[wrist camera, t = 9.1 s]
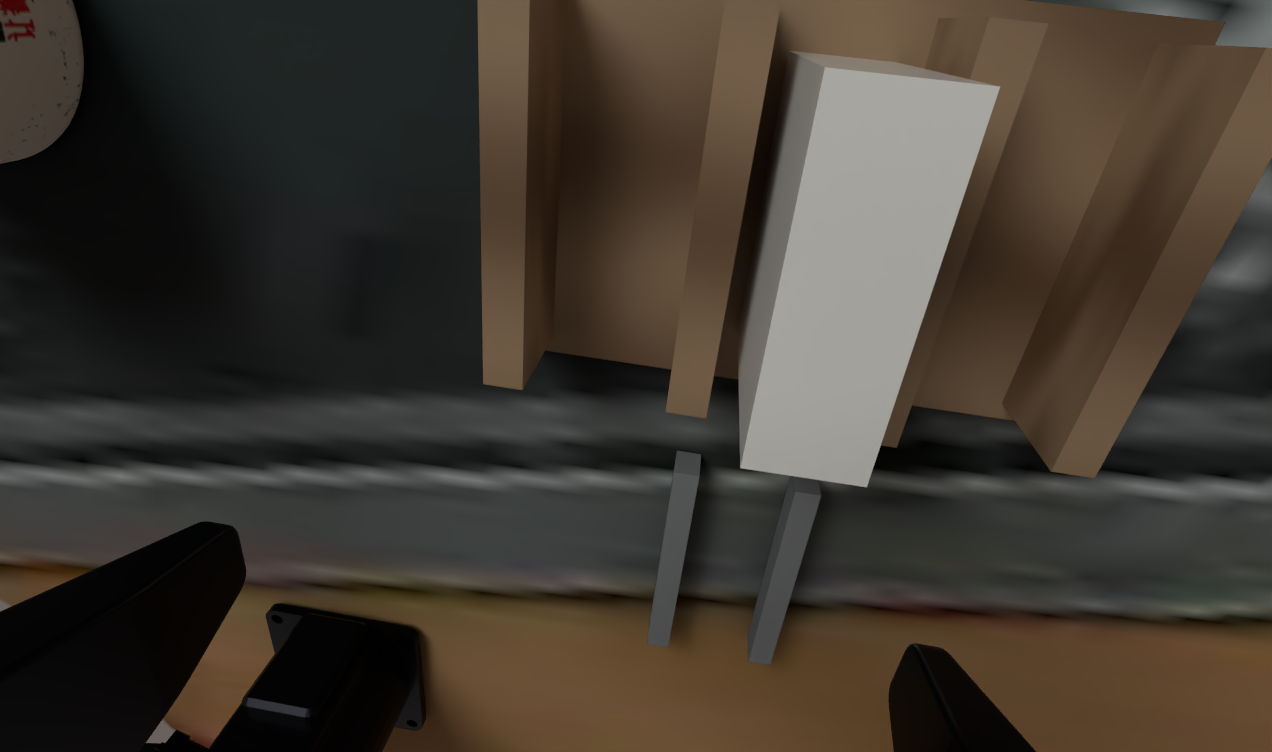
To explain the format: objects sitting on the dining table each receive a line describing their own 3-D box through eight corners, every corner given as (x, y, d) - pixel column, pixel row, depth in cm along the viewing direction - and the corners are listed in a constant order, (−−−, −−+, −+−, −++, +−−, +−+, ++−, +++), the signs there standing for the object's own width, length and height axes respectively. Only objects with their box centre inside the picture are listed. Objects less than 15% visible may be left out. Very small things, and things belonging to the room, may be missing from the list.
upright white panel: (824, 341, 18) (866, 487, 12) (737, 329, 18) (740, 467, 13) (896, 62, 15) (1000, 86, 9) (789, 50, 15) (825, 67, 9)
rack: (1021, 405, 19) (1089, 495, 16) (525, 332, 20) (479, 400, 17) (1195, 22, 14) (1353, 22, 11) (533, -51, 15) (471, -74, 12)
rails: (768, 638, 25) (769, 665, 24) (650, 617, 25) (646, 643, 24) (817, 472, 21) (821, 496, 20) (677, 450, 22) (674, 472, 21)
